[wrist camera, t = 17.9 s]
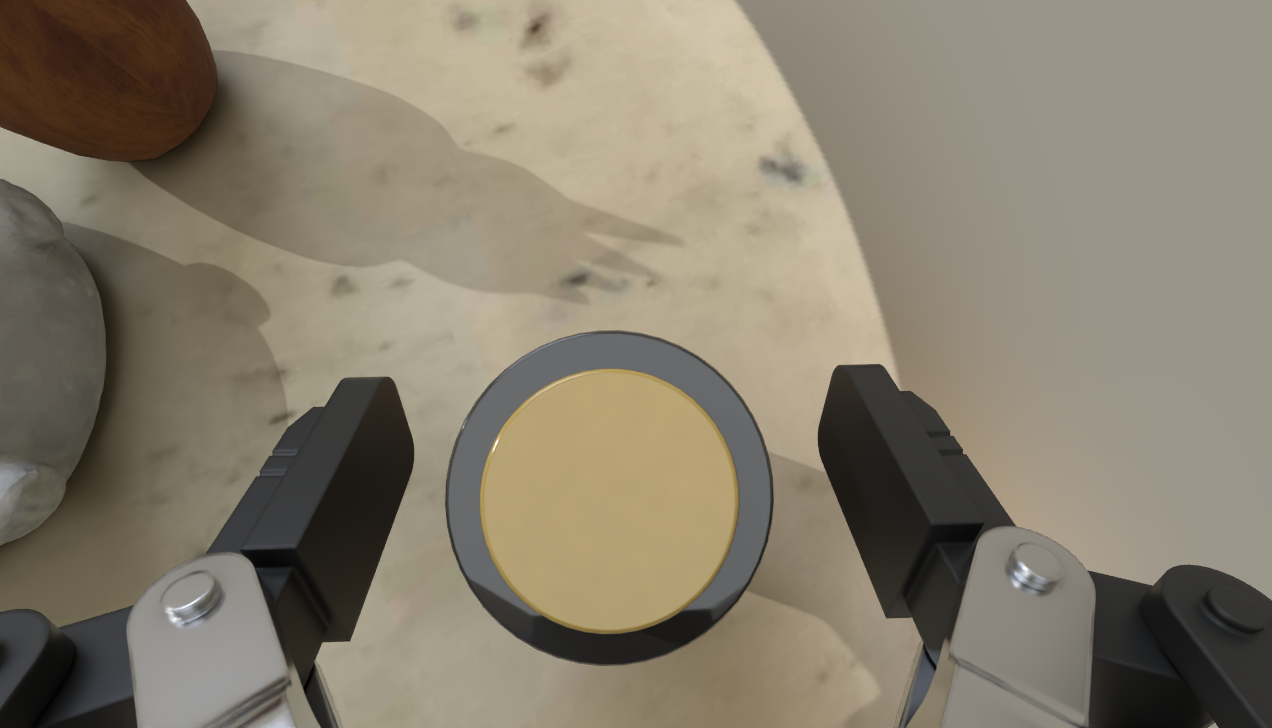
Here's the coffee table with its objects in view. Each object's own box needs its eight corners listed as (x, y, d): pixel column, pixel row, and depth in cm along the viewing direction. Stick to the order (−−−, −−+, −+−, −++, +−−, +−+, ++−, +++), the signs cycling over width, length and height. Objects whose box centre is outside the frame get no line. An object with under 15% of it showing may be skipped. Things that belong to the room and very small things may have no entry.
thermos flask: (712, 459, 19) (871, 475, 7) (621, 570, 18) (630, 789, 7) (607, 369, 19) (592, 242, 7) (514, 474, 19) (338, 519, 7)
